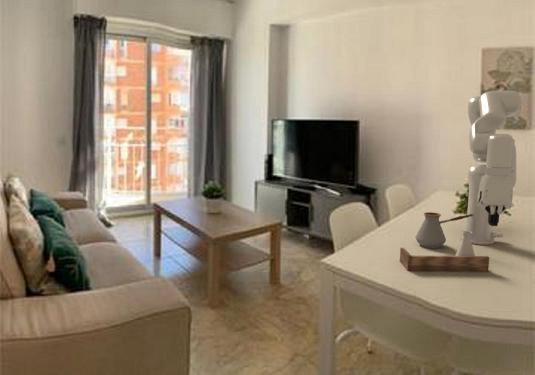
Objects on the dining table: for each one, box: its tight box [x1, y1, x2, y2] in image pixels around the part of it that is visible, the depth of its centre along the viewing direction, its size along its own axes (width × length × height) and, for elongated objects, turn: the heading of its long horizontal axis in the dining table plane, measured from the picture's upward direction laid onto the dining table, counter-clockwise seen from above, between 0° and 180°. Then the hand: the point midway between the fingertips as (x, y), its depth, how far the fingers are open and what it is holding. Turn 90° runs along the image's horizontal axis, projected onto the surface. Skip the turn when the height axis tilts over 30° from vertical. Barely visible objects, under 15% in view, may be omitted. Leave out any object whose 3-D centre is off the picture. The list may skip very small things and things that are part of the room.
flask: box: [454, 230, 476, 256], centre depth 163 cm, size 7×7×10 cm
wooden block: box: [399, 247, 490, 273], centre depth 163 cm, size 27×10×5 cm, turn 90°
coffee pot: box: [415, 211, 475, 249], centre depth 183 cm, size 21×12×15 cm, turn 54°
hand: (492, 225), depth 161 cm, fingers closed
